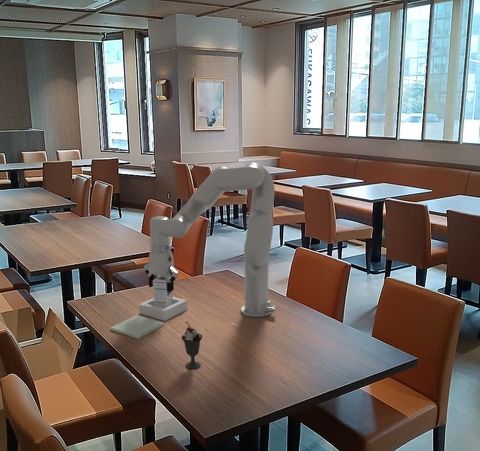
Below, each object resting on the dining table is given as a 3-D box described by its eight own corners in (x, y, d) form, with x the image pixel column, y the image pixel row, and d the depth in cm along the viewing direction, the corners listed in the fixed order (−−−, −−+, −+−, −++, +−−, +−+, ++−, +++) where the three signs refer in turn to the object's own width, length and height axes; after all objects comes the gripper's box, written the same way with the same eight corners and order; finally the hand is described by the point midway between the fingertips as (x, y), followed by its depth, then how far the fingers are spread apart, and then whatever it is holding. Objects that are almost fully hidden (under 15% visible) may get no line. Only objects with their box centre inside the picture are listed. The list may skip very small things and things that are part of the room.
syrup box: (168, 314, 208) (166, 280, 205) (154, 313, 209) (152, 279, 206) (172, 309, 213) (171, 275, 210) (159, 308, 215) (157, 275, 211)
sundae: (182, 361, 170) (181, 318, 167) (203, 360, 171) (201, 317, 167) (182, 371, 164) (180, 327, 160) (203, 370, 164) (202, 326, 161)
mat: (164, 325, 198) (163, 322, 198) (138, 338, 187) (137, 336, 187) (137, 317, 206) (137, 314, 206) (110, 330, 194) (110, 327, 194)
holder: (187, 309, 213) (186, 300, 212) (165, 320, 202) (164, 311, 201) (162, 302, 220) (161, 293, 219) (139, 313, 209) (139, 304, 208)
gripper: (183, 249, 204) (183, 290, 207) (150, 242, 213) (151, 281, 217) (170, 253, 197) (171, 296, 201) (137, 246, 207) (138, 287, 211)
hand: (161, 288), depth 209 cm, fingers open, 9 cm apart
